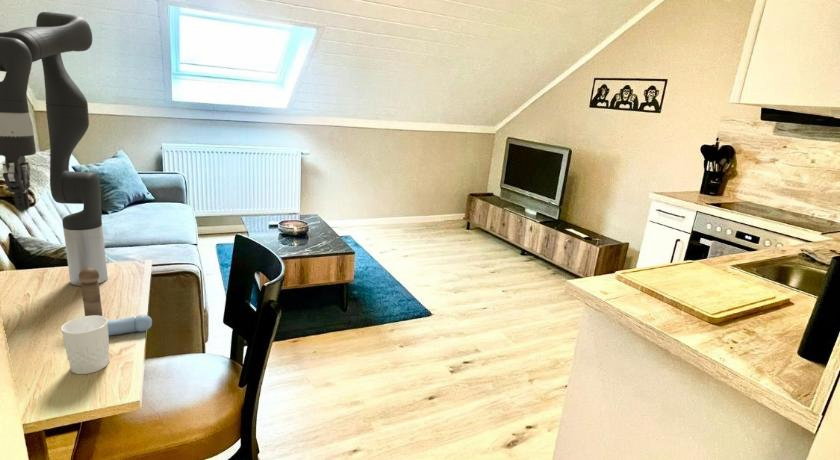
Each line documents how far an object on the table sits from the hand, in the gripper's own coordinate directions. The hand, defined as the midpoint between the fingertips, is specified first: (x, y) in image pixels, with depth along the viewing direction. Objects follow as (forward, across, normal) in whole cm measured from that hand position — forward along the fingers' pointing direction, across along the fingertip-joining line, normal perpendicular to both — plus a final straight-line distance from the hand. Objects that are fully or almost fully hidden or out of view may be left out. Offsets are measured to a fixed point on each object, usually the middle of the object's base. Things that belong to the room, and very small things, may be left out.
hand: (23, 208), depth 104 cm
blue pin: (+27, -13, -10) cm, 32 cm away
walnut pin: (+29, -2, -11) cm, 31 cm away
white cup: (+29, -26, -12) cm, 41 cm away
